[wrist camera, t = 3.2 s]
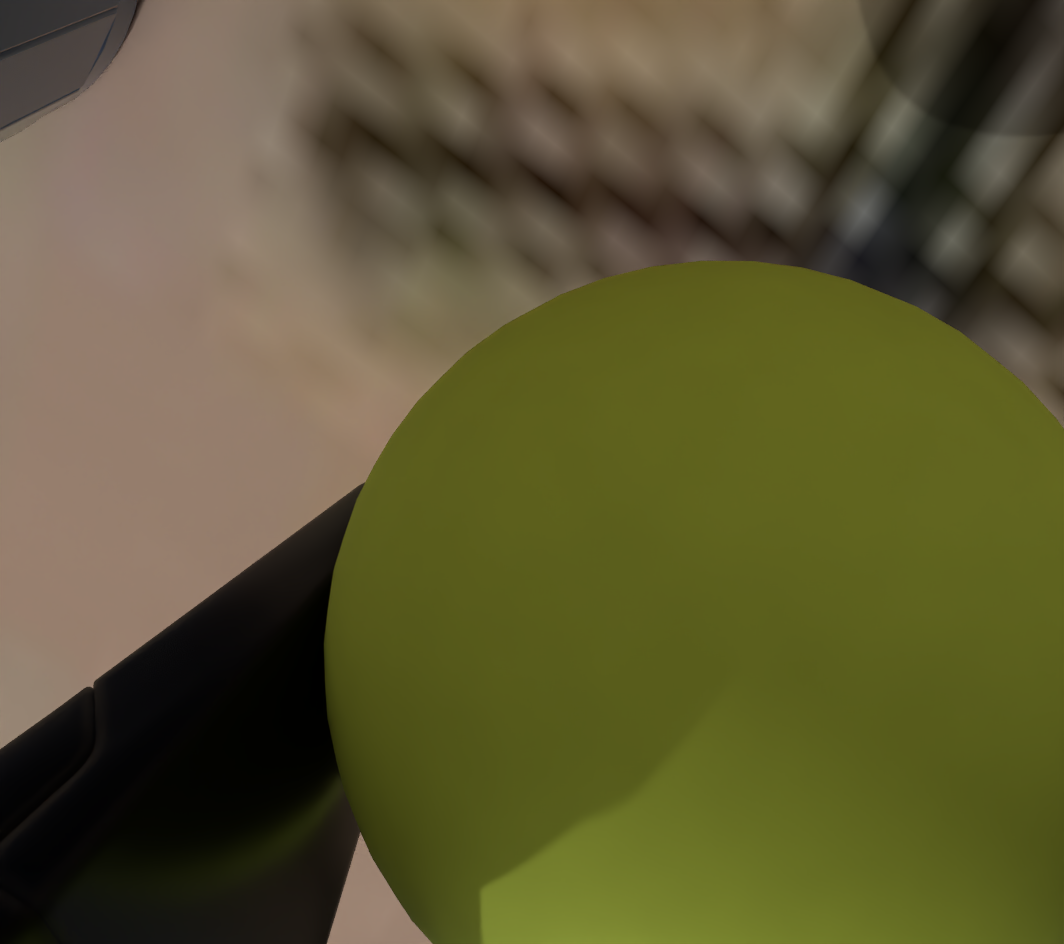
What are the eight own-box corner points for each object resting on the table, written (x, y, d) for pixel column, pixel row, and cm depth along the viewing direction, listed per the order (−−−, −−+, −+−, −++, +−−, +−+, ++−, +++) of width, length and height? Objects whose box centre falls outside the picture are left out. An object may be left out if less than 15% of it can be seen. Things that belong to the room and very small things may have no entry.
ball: (967, 647, 11) (1174, 1294, 6) (468, 640, 12) (324, 1194, 7) (1071, 122, 8) (1675, 664, 3) (370, 175, 9) (-6, 641, 4)
